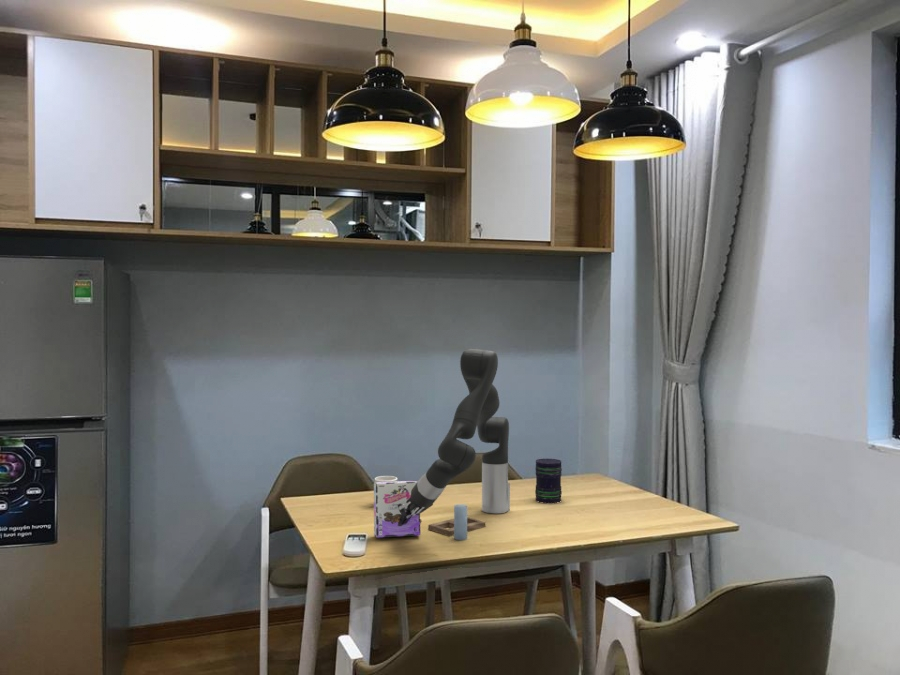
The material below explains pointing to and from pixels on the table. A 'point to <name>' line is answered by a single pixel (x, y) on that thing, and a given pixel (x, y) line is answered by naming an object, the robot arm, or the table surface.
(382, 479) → the dixie cup
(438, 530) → the socket board
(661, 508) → the table surface
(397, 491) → the candy box
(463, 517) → the blue pin
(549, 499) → the storage jar
